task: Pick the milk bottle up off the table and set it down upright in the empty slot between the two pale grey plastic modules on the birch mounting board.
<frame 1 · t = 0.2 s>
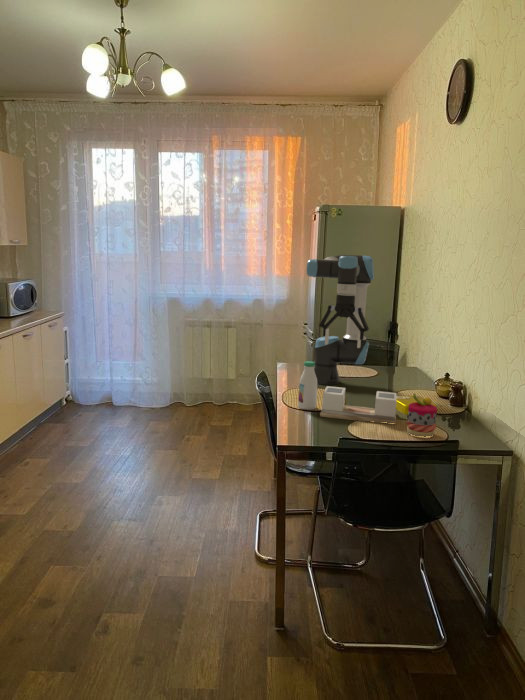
hand: (342, 345, 219), 28 cm above the table, tool pointing down, fingers open, 13 cm apart
milk bottle: (307, 408, 227), on the table
cake: (420, 434, 199), on the table
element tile: (412, 410, 231), on the table
mounting board: (358, 415, 219), on the table
mounted modules: (359, 402, 218), point 6 cm above the table
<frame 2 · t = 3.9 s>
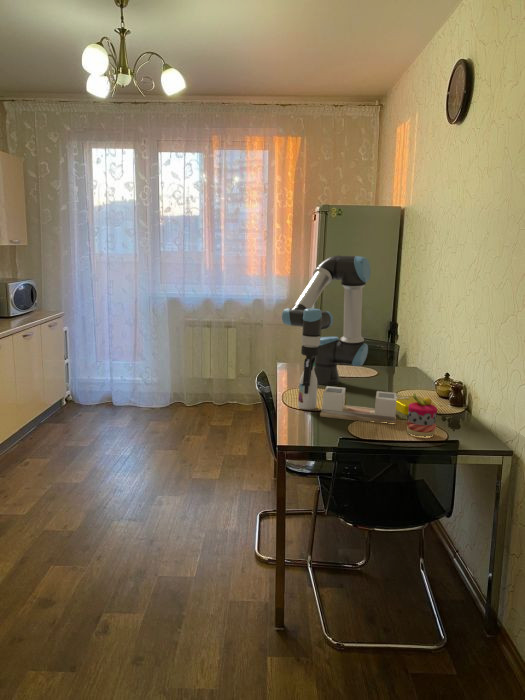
hand: (307, 398, 226), 4 cm above the table, tool pointing down, fingers closed on milk bottle, 8 cm apart
milk bottle: (307, 407, 227), on the table, touching gripper
everything else where it was.
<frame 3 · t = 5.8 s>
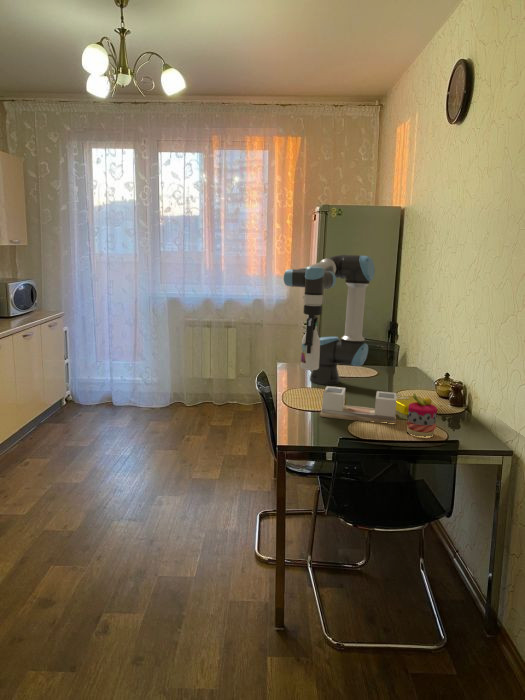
hand: (310, 358, 223), 21 cm above the table, tool pointing down, fingers closed on milk bottle, 8 cm apart
milk bottle: (309, 368, 224), point 17 cm above the table, touching gripper
everything else where it was.
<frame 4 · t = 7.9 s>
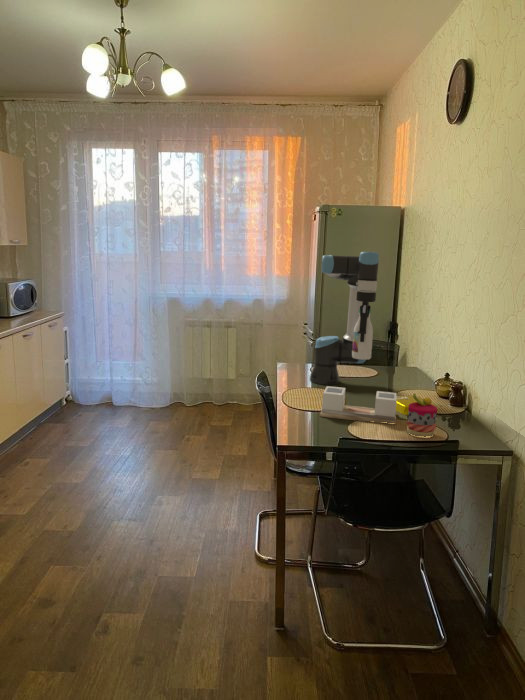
hand: (362, 348, 214), 28 cm above the table, tool pointing down, fingers closed on milk bottle, 8 cm apart
milk bottle: (361, 358, 215), point 24 cm above the table, touching gripper
everything else where it was.
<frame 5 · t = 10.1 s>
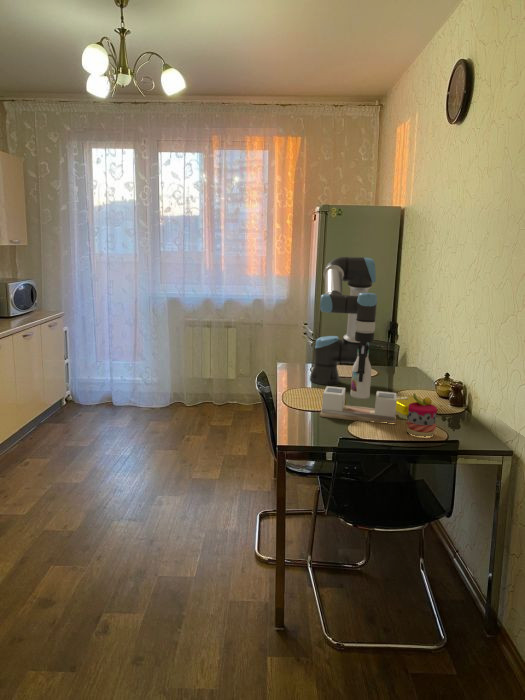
hand: (360, 386, 217), 12 cm above the table, tool pointing down, fingers closed on milk bottle, 8 cm apart
milk bottle: (359, 397, 217), point 8 cm above the table, touching gripper
when the fingers open (7 cm above the table, at t = 11.9 s): milk bottle drops 1 cm, resting on mounting board.
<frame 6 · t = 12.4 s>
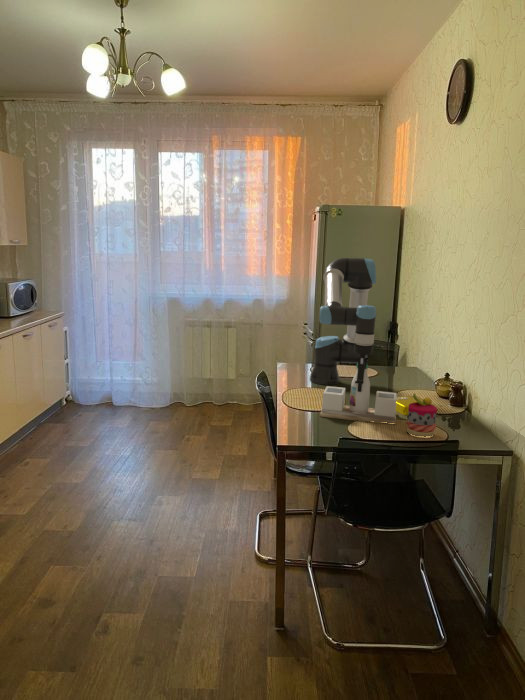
hand: (360, 394, 217), 9 cm above the table, tool pointing down, fingers open, 13 cm apart
milk bottle: (358, 411, 219), point 1 cm above the table, touching mounting board
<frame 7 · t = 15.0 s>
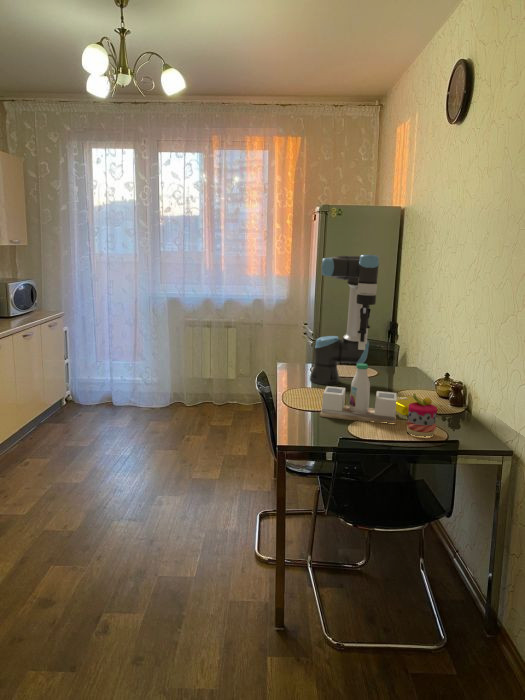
hand: (362, 346, 214), 29 cm above the table, tool pointing down, fingers open, 13 cm apart
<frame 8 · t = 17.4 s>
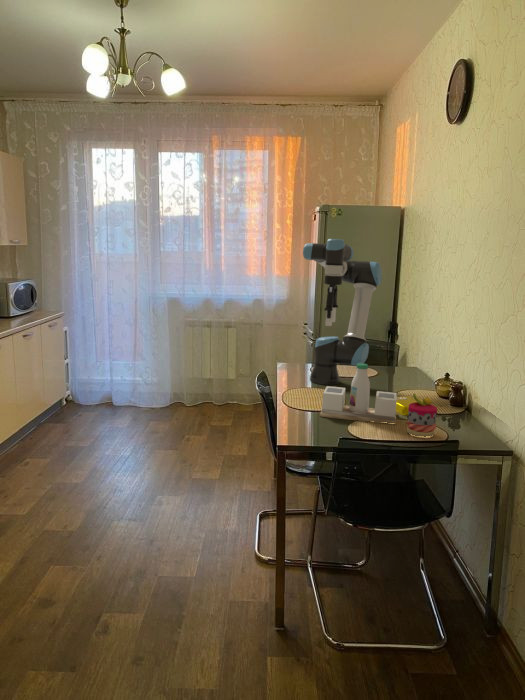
hand: (330, 323, 233), 35 cm above the table, tool pointing down, fingers open, 13 cm apart
at the end: milk bottle 0.3 cm off-centre on the mounting board, point 1.4 cm above the mounting board's base; milk bottle tilted 0°; the gripper is holding nothing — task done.
